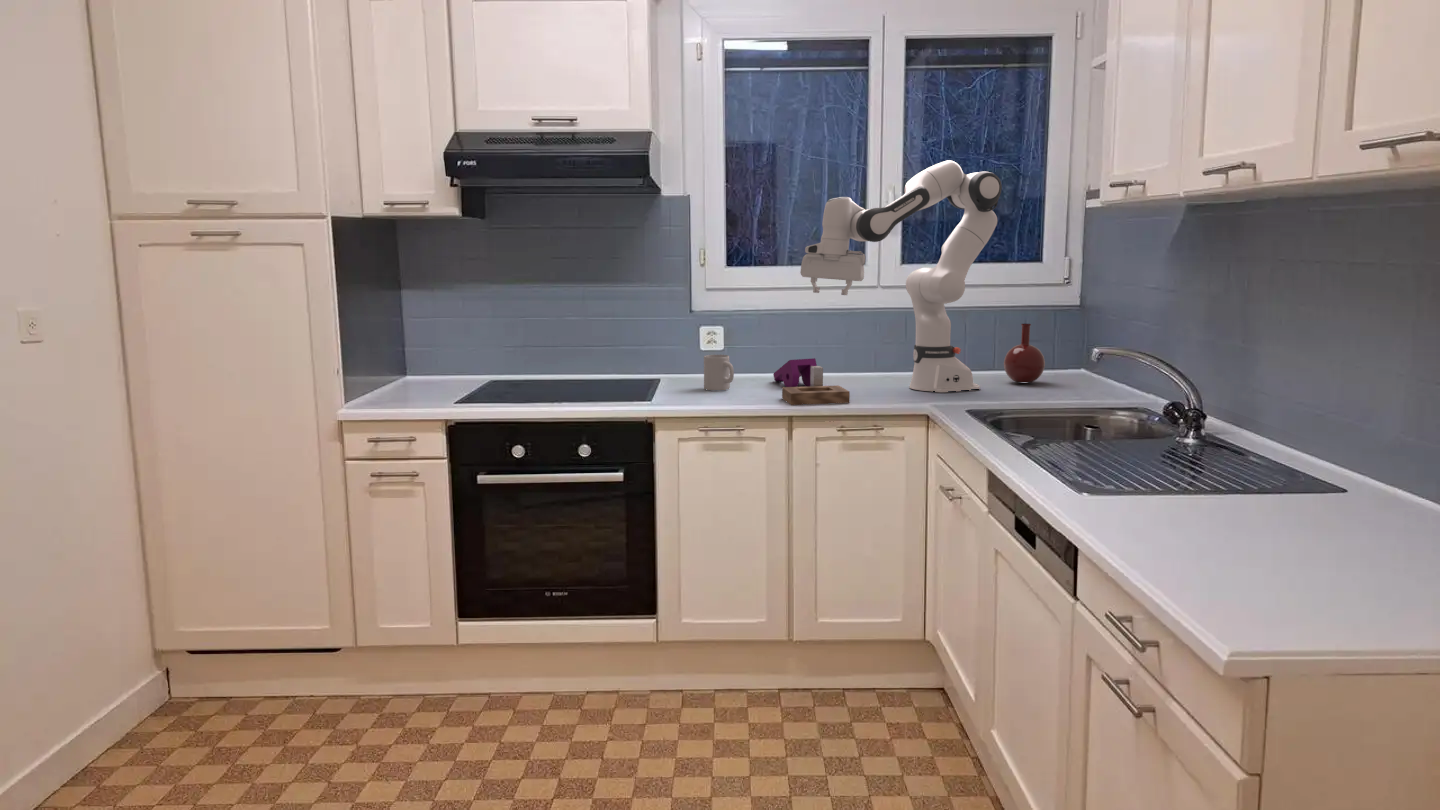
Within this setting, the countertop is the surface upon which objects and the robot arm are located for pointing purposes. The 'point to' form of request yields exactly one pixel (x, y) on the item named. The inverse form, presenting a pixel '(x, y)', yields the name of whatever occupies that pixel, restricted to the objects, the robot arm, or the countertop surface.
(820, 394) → the well block
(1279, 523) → the countertop surface
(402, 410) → the countertop surface
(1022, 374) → the round-bottom flask
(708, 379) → the mug
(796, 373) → the mounting bracket
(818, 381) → the angle bracket
